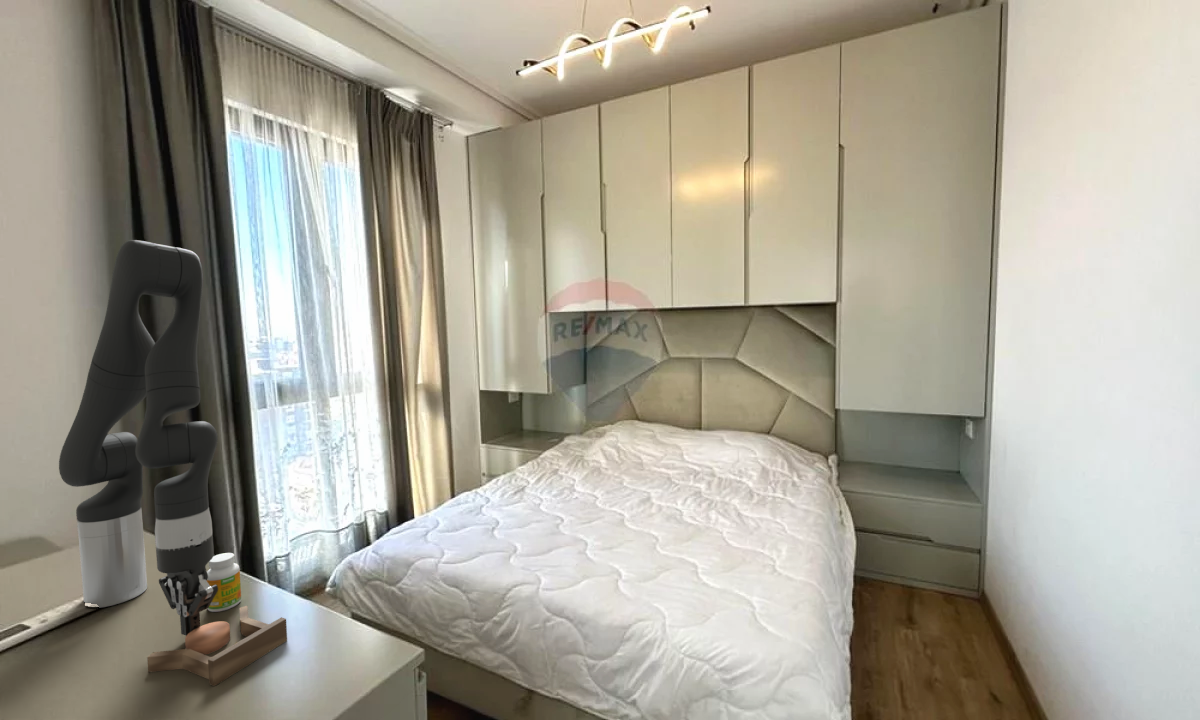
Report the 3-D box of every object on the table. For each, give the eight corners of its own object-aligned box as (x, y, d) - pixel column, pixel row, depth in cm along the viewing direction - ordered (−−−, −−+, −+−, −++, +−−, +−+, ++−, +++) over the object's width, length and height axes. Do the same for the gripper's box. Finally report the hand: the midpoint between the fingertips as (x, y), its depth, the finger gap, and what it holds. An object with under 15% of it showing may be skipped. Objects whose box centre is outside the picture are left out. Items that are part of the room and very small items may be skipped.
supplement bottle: (222, 614, 94) (219, 565, 93) (199, 611, 95) (196, 562, 94) (248, 598, 99) (245, 552, 98) (226, 595, 100) (223, 549, 99)
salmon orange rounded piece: (177, 652, 83) (176, 638, 83) (215, 631, 89) (215, 618, 89) (200, 660, 81) (199, 646, 81) (238, 639, 87) (237, 625, 87)
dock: (146, 671, 78) (144, 647, 78) (246, 617, 93) (244, 597, 92) (200, 694, 73) (198, 669, 73) (297, 634, 88) (296, 612, 87)
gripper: (135, 540, 84) (143, 636, 85) (183, 553, 79) (190, 655, 81) (186, 523, 91) (192, 612, 92) (232, 535, 86) (238, 629, 87)
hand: (191, 632), depth 86 cm, fingers closed
